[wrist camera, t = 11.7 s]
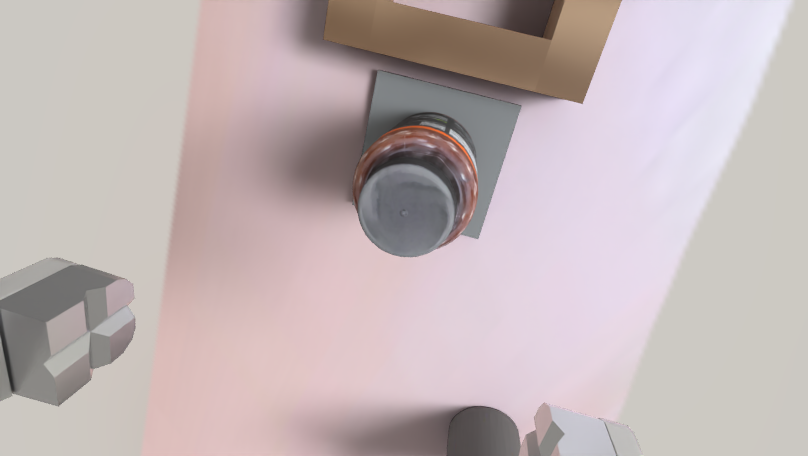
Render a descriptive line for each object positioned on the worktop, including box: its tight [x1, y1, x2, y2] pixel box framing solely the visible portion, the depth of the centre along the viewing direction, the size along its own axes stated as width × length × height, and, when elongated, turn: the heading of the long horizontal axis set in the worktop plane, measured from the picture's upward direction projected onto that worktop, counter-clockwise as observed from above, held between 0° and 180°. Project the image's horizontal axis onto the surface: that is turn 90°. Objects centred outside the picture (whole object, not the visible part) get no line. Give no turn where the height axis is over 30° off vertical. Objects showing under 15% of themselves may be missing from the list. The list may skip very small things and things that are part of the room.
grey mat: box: [352, 70, 521, 239], centre depth 27 cm, size 9×9×1 cm
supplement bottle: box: [353, 112, 478, 257], centre depth 22 cm, size 6×6×11 cm
